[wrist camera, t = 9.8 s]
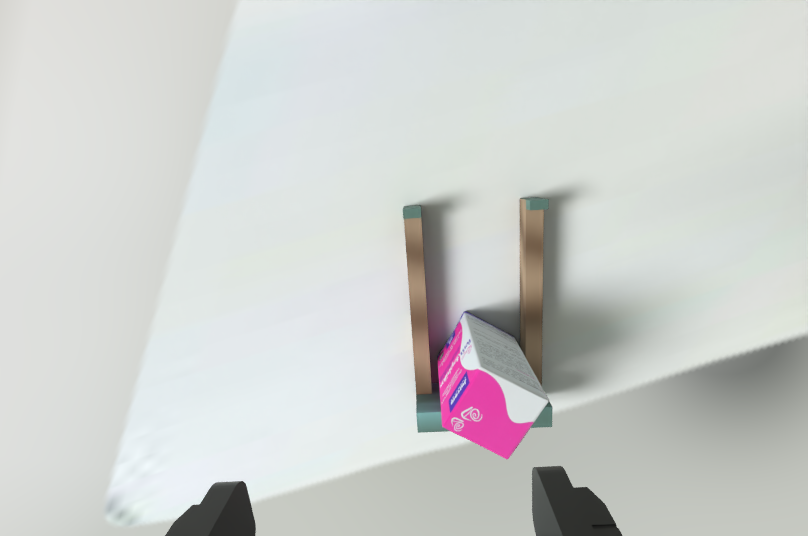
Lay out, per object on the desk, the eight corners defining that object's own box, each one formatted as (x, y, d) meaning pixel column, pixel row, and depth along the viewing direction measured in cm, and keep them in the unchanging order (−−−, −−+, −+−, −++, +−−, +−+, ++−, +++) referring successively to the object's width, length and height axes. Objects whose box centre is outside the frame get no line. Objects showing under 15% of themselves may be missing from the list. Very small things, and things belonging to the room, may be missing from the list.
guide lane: (404, 206, 35) (402, 211, 30) (536, 197, 35) (556, 200, 30) (417, 401, 40) (417, 432, 35) (535, 395, 39) (551, 426, 34)
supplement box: (462, 308, 37) (481, 364, 26) (514, 335, 38) (556, 401, 27) (433, 356, 39) (440, 429, 28) (484, 382, 39) (512, 464, 28)
